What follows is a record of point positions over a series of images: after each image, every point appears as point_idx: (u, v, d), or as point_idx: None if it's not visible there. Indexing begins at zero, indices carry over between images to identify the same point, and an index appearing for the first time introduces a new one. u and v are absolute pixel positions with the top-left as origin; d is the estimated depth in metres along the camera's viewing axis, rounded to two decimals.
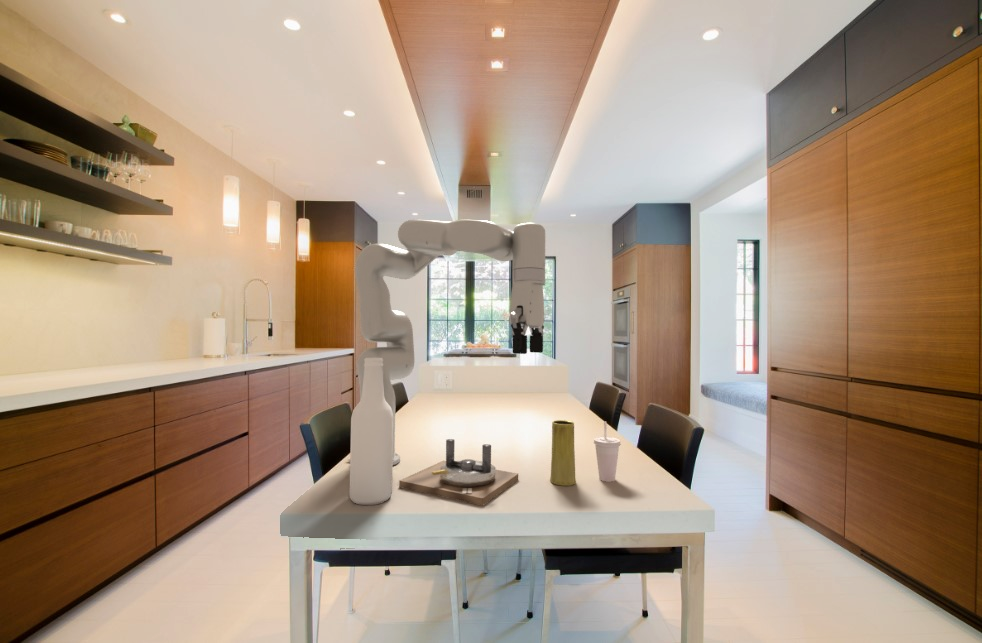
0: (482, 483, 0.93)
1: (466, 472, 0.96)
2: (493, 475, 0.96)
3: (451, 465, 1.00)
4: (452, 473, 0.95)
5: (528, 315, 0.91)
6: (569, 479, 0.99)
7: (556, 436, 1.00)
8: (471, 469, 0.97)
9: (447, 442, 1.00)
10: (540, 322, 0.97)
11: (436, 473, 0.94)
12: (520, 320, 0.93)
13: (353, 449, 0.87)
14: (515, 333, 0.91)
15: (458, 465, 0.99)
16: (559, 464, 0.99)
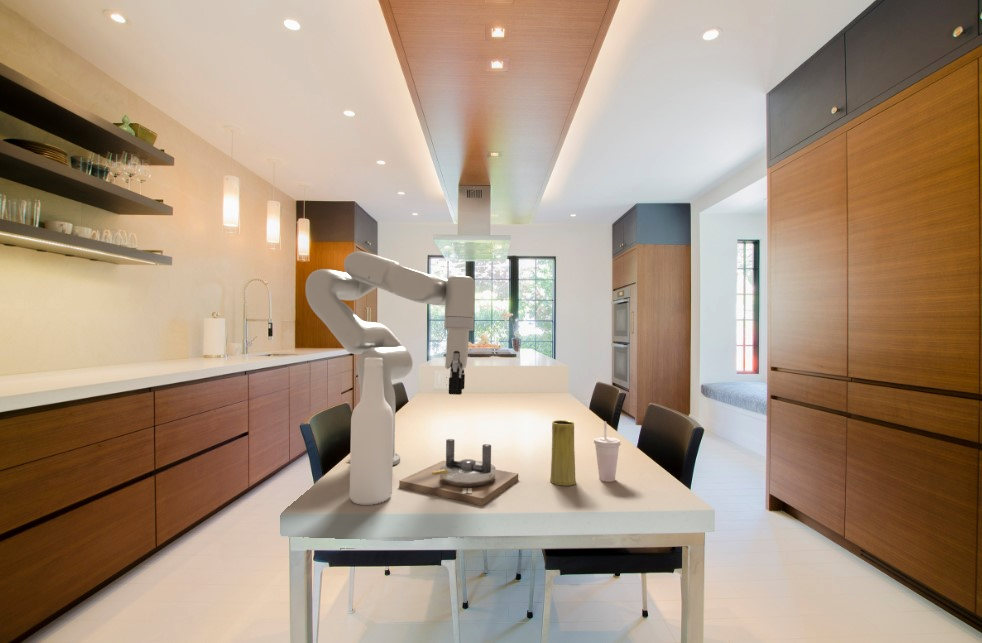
0: (482, 483, 0.93)
1: (466, 472, 0.96)
2: (493, 475, 0.96)
3: (451, 465, 1.00)
4: (452, 473, 0.95)
5: (464, 360, 1.02)
6: (569, 479, 0.99)
7: (556, 436, 1.00)
8: (471, 469, 0.97)
9: (447, 442, 1.00)
10: (466, 363, 1.09)
11: (436, 473, 0.94)
12: None
13: (353, 449, 0.87)
14: (453, 376, 1.01)
15: (458, 465, 0.99)
16: (559, 464, 0.99)
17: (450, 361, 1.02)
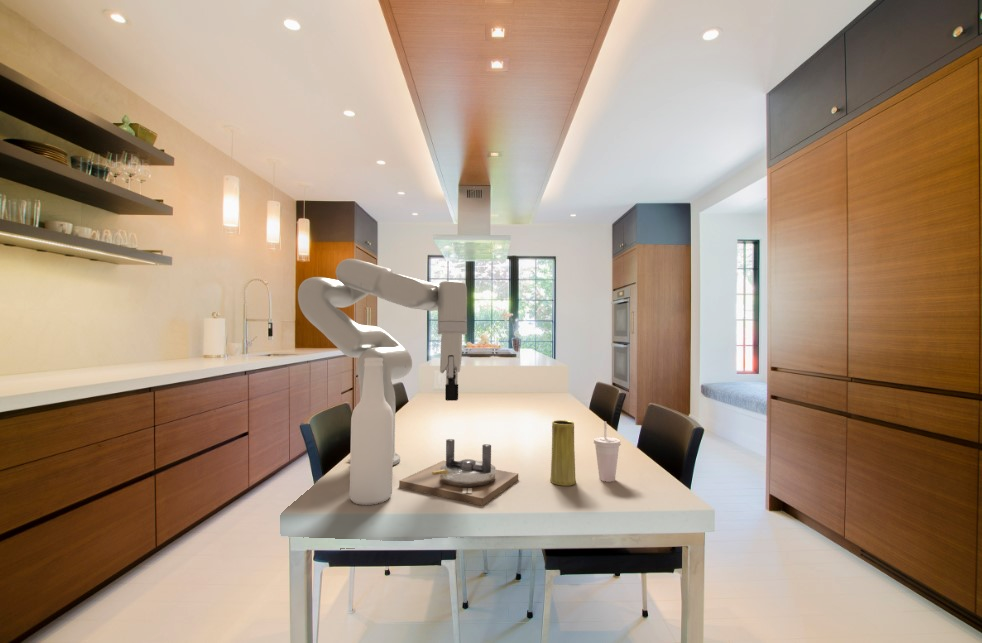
0: (482, 483, 0.93)
1: (466, 472, 0.96)
2: (493, 475, 0.96)
3: (451, 465, 1.00)
4: (452, 473, 0.95)
5: (458, 364, 1.04)
6: (569, 479, 0.99)
7: (556, 436, 1.00)
8: (471, 469, 0.97)
9: (447, 442, 1.00)
10: None
11: (436, 473, 0.94)
12: (449, 369, 1.06)
13: (353, 449, 0.87)
14: (449, 383, 1.06)
15: (458, 465, 0.99)
16: (559, 464, 0.99)
17: None
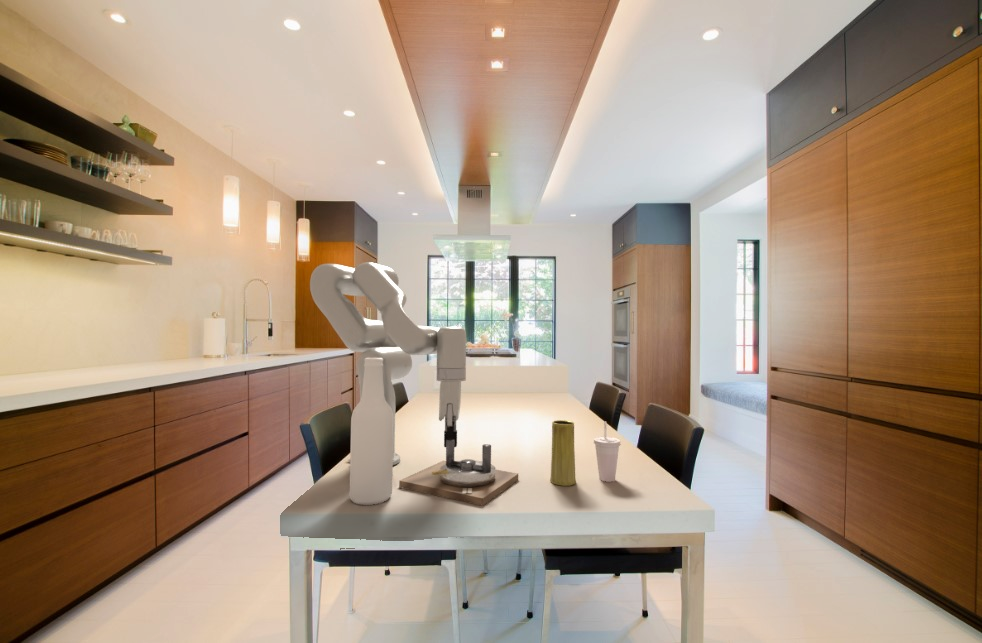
0: (482, 483, 0.93)
1: (466, 472, 0.96)
2: (493, 475, 0.96)
3: (451, 465, 1.00)
4: (452, 473, 0.95)
5: (457, 412, 1.03)
6: (569, 479, 0.99)
7: (556, 436, 1.00)
8: (471, 469, 0.97)
9: (447, 442, 1.00)
10: None
11: (436, 473, 0.94)
12: None
13: (353, 449, 0.87)
14: (448, 430, 1.06)
15: (458, 465, 0.99)
16: (559, 464, 0.99)
17: None
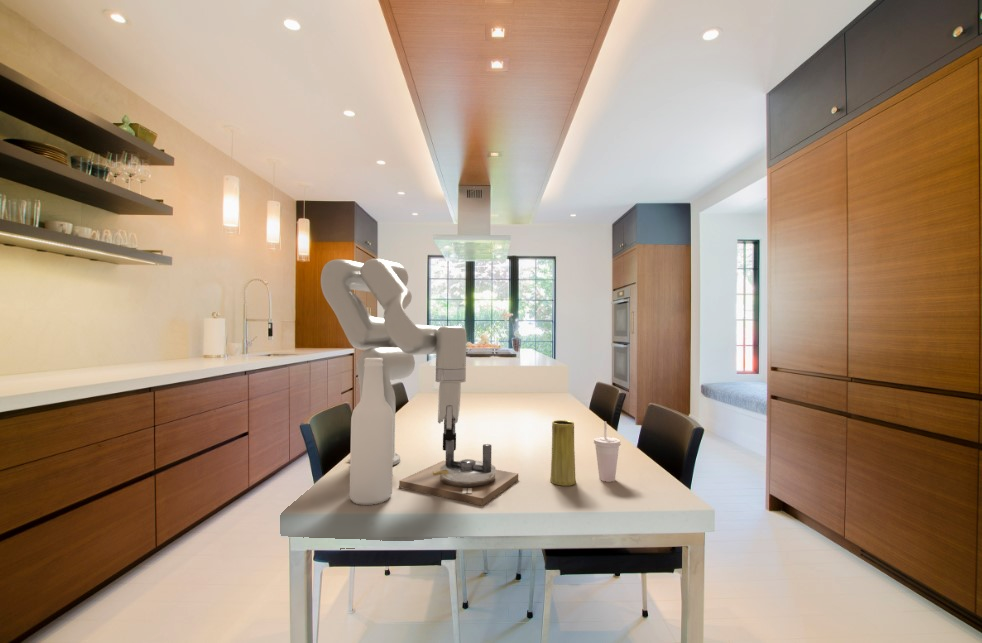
0: (483, 483, 0.93)
1: (466, 472, 0.96)
2: (493, 475, 0.96)
3: (451, 465, 1.00)
4: (452, 473, 0.95)
5: (457, 415, 1.00)
6: (569, 479, 0.99)
7: (556, 436, 1.00)
8: (471, 469, 0.97)
9: (447, 442, 1.00)
10: None
11: (437, 473, 0.94)
12: None
13: (353, 449, 0.87)
14: (447, 433, 1.02)
15: (458, 465, 0.99)
16: (559, 464, 0.99)
17: None
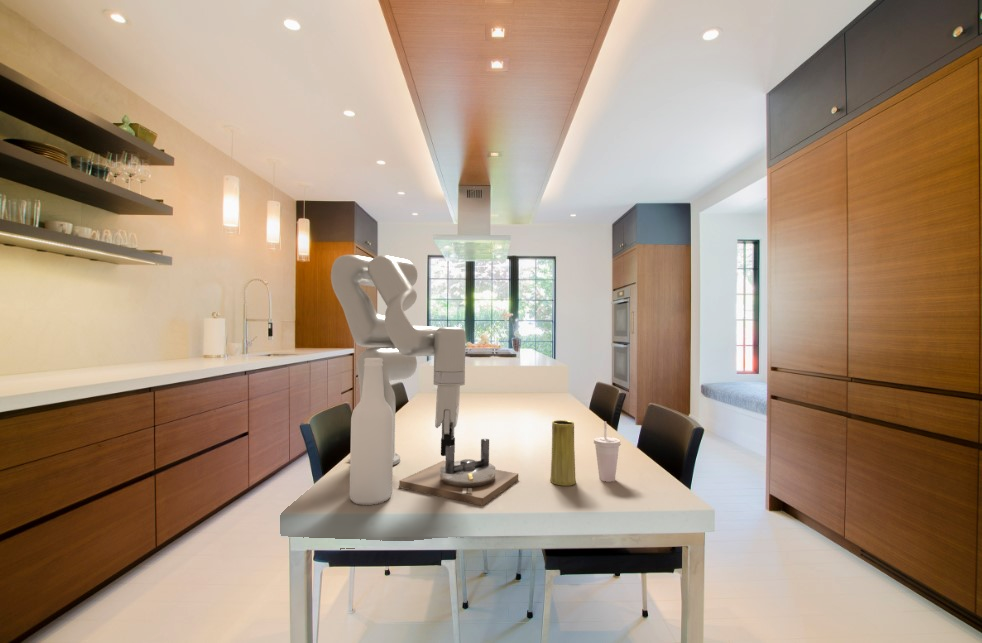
0: None
1: (478, 470, 0.97)
2: None
3: (454, 471, 0.96)
4: (474, 474, 0.94)
5: (455, 419, 0.96)
6: (569, 479, 0.99)
7: (556, 436, 1.00)
8: (475, 467, 0.99)
9: (451, 448, 0.95)
10: None
11: (472, 478, 0.90)
12: None
13: (353, 449, 0.87)
14: (445, 438, 0.99)
15: (461, 468, 0.97)
16: (559, 464, 0.99)
17: None
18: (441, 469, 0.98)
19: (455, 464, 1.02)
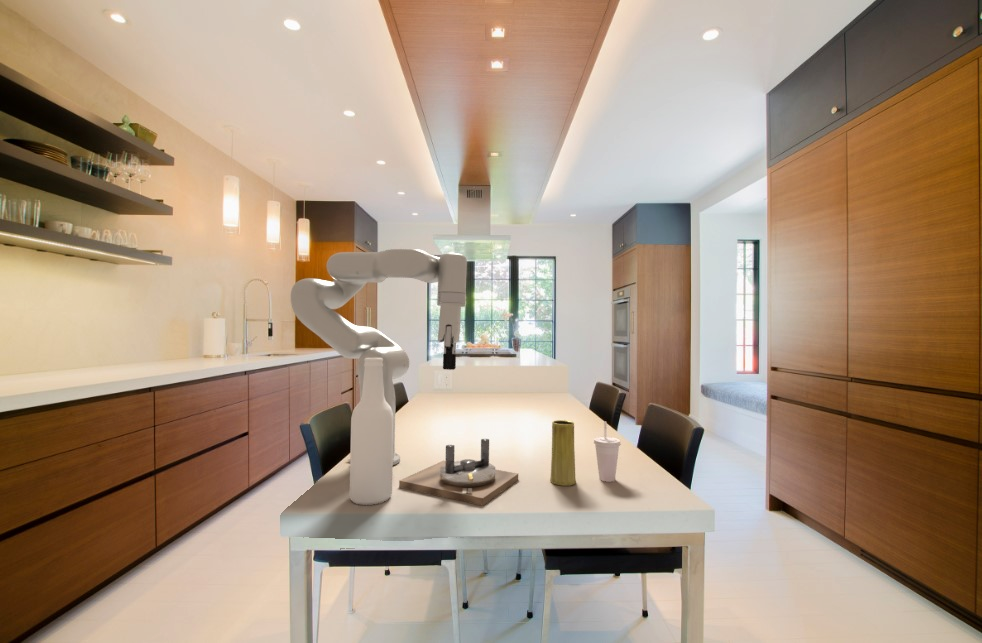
0: None
1: (478, 470, 0.97)
2: None
3: (454, 471, 0.96)
4: (474, 474, 0.94)
5: (455, 333, 1.07)
6: (569, 479, 0.99)
7: (556, 436, 1.00)
8: (475, 467, 0.99)
9: (451, 448, 0.95)
10: (458, 338, 1.14)
11: (472, 478, 0.90)
12: None
13: (353, 449, 0.87)
14: (447, 352, 1.10)
15: (461, 468, 0.97)
16: (559, 464, 0.99)
17: None
18: (441, 469, 0.98)
19: (455, 464, 1.02)
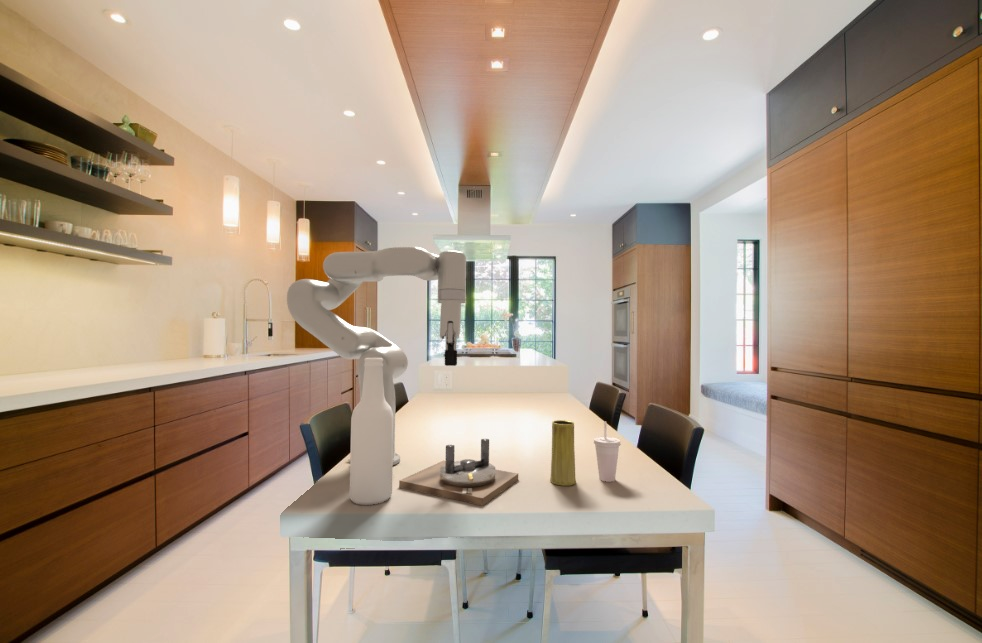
0: None
1: (478, 470, 0.97)
2: None
3: (454, 471, 0.96)
4: (474, 474, 0.94)
5: (457, 330, 1.08)
6: (569, 479, 0.99)
7: (556, 436, 1.00)
8: (475, 467, 0.99)
9: (451, 448, 0.95)
10: None
11: (472, 478, 0.90)
12: None
13: (353, 449, 0.87)
14: (448, 349, 1.11)
15: (461, 468, 0.97)
16: (559, 464, 0.99)
17: None
18: (441, 469, 0.98)
19: (455, 464, 1.02)
